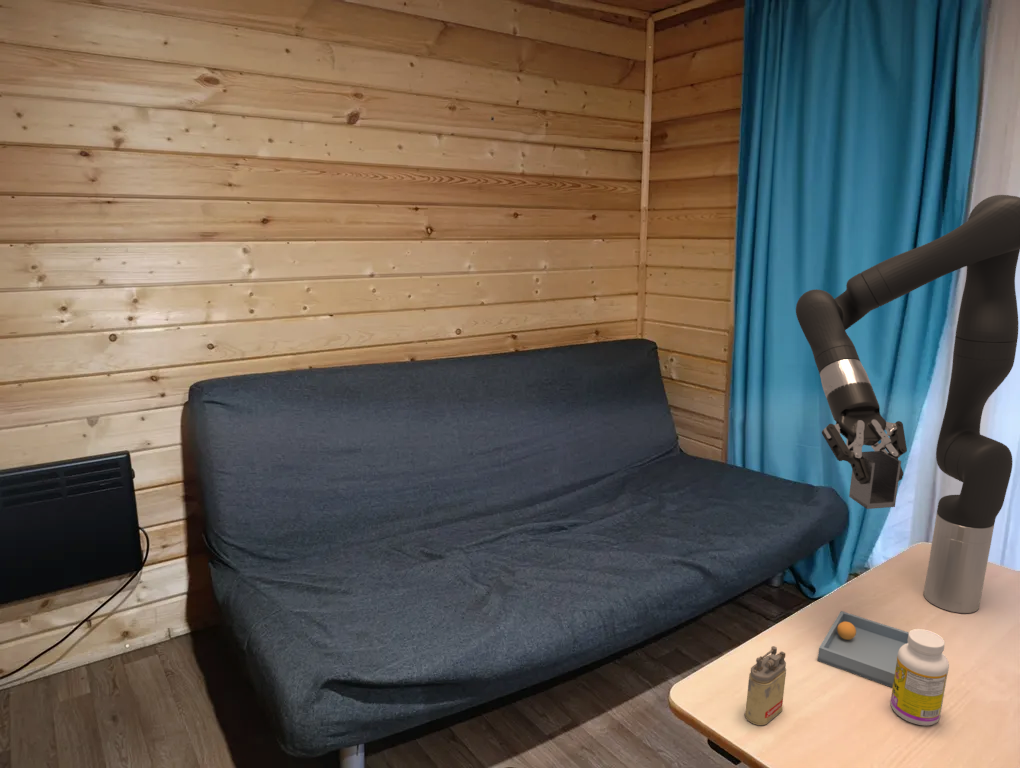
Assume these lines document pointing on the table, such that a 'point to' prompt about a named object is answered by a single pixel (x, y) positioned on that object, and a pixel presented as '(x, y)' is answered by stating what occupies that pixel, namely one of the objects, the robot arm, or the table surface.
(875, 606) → the table surface
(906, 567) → the table surface
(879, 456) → the open box
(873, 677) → the tray
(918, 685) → the supplement bottle
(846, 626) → the ball
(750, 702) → the lighter
